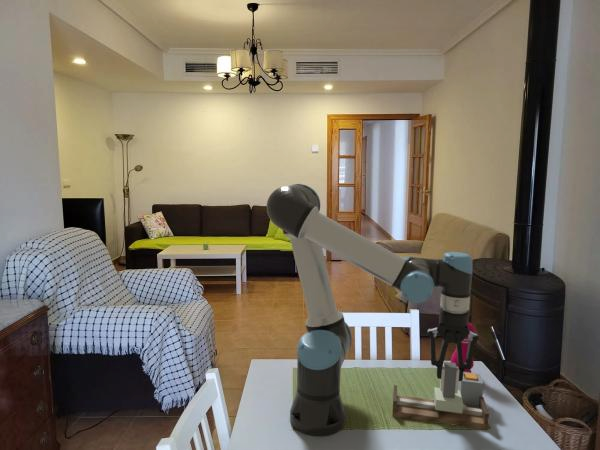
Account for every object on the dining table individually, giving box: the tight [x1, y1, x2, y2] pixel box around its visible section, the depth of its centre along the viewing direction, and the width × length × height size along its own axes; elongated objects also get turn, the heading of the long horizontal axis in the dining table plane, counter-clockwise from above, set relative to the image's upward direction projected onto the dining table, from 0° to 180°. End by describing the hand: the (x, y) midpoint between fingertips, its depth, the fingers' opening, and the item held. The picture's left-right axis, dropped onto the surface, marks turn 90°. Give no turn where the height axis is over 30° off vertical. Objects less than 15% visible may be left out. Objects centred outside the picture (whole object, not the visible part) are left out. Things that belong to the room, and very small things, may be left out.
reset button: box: [465, 372, 477, 381], centre depth 130 cm, size 3×3×6 cm
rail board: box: [391, 384, 490, 430], centre depth 125 cm, size 25×9×4 cm, turn 77°
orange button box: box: [458, 372, 484, 406], centre depth 130 cm, size 6×6×8 cm
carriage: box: [433, 361, 463, 414], centre depth 123 cm, size 7×7×12 cm
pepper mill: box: [450, 321, 475, 373], centre depth 147 cm, size 7×7×20 cm
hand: (448, 389), depth 123 cm, fingers closed on carriage, 3 cm apart
